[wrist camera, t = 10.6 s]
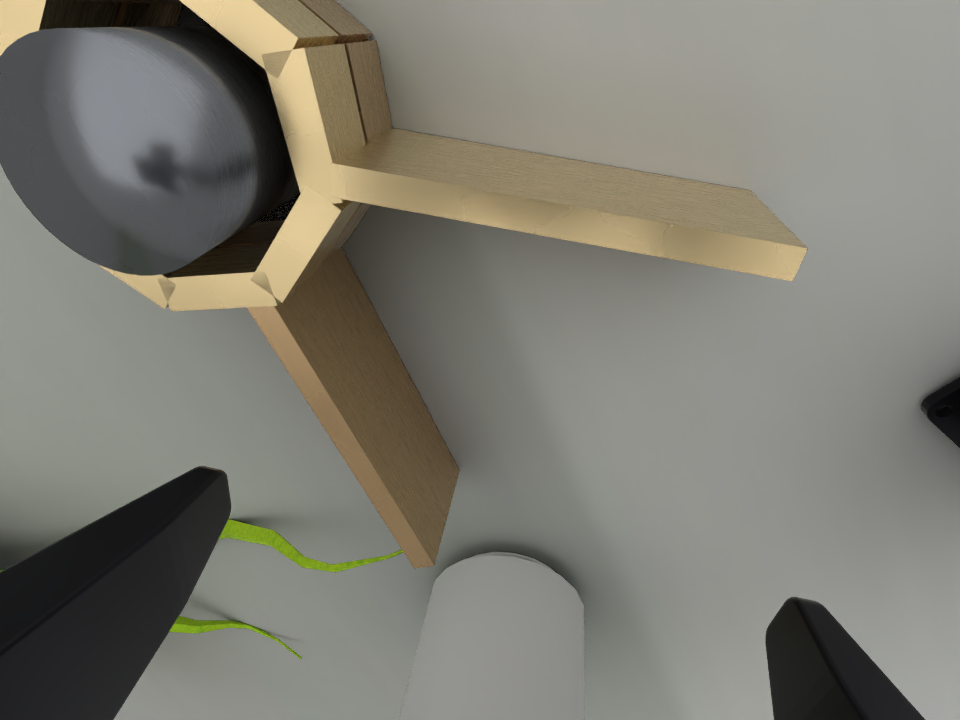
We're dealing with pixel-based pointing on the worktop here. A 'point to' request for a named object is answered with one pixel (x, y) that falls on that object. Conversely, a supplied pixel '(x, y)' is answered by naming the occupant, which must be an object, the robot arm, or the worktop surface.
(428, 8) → the worktop surface
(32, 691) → the robot arm
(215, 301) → the hinge
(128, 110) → the hinge pin
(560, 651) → the can
